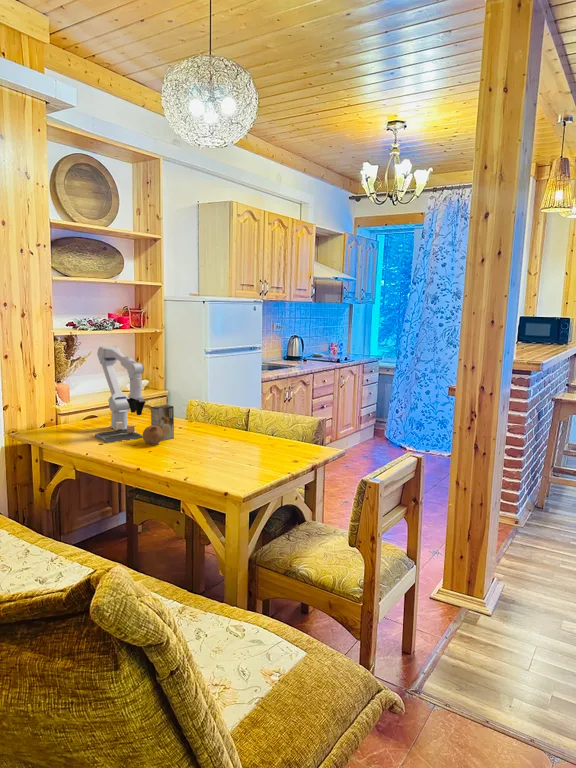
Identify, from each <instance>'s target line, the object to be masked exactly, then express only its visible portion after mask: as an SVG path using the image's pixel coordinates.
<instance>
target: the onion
mask: <svg viewBox="0 0 576 768" xmlns="http://www.w3.org/2000/svg"><path fill="white" fill-rule="evenodd" d="M162 438H163V431H162V429H161V428H160V427H158V426H155V425H152V426H151V425H149V426H147V427H145V428H144V430H143V432H142V439H143V442H145V444H147V445H150V446H151V445H152V446H153V445H158V444H159V443H160V442H162V441H161V440H162Z"/></svg>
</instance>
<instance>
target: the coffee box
mask: <svg viewBox="0 0 576 768" xmlns="http://www.w3.org/2000/svg"><path fill="white" fill-rule="evenodd" d="M174 413H175V412H174V406H173V405H169V404H161V405H155V406H151V407H150V426H152V425H155V426H158V427H160V428H161V429H162V431H163V438H162V440H163V441H166V439H167V440H170V439H175V424H174V423H175V422H174V417H175V415H174Z"/></svg>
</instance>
